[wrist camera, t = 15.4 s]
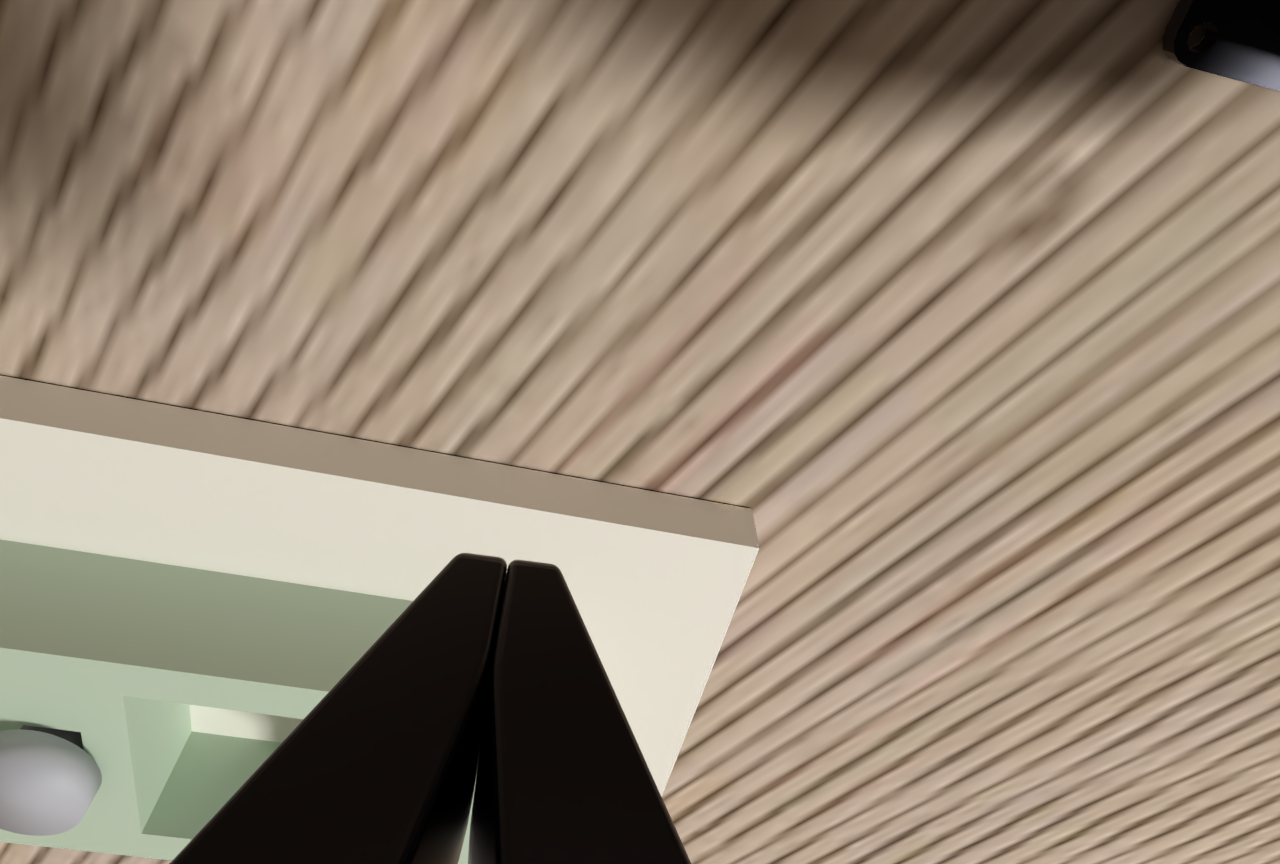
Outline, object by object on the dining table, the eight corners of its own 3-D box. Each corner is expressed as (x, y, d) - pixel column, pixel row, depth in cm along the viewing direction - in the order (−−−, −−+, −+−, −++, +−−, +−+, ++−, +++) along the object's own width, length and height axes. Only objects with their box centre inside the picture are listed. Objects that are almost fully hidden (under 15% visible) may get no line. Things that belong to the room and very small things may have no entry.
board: (751, 509, 22) (785, 681, 18) (628, 836, 30) (628, 1019, 25) (-281, 325, 19) (-569, 476, 14) (-131, 743, 26) (-291, 931, 22)
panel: (518, 617, 22) (505, 715, 19) (483, 790, 26) (467, 892, 23) (-245, 502, 20) (-372, 597, 17) (-164, 710, 23) (-259, 813, 21)
